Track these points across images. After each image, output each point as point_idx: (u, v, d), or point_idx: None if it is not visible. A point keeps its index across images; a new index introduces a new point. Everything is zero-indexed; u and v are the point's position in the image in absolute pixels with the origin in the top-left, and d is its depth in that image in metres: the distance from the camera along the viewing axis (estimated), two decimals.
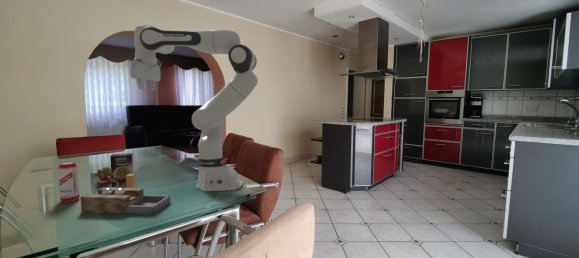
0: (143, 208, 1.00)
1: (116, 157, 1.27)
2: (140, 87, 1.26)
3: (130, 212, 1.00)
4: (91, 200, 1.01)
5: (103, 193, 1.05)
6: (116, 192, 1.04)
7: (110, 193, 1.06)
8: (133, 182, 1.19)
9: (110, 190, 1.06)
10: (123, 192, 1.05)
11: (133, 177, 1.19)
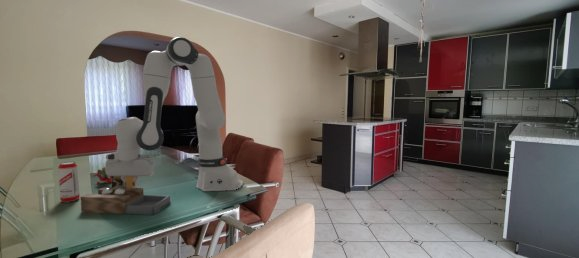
0: (143, 208, 1.00)
1: None
2: (136, 184, 1.19)
3: (130, 212, 1.00)
4: (91, 200, 1.01)
5: (103, 193, 1.05)
6: (116, 192, 1.04)
7: (110, 193, 1.06)
8: None
9: (110, 190, 1.06)
10: (123, 192, 1.05)
11: (133, 177, 1.19)
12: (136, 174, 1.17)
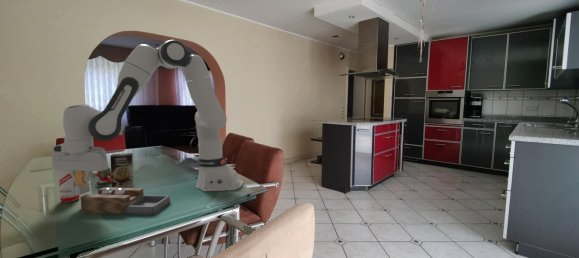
0: (143, 208, 1.00)
1: (116, 157, 1.27)
2: (88, 179, 1.06)
3: (130, 212, 1.00)
4: (91, 200, 1.01)
5: (103, 193, 1.05)
6: (116, 192, 1.04)
7: (110, 193, 1.06)
8: None
9: (110, 190, 1.06)
10: (123, 192, 1.05)
11: (84, 172, 1.06)
12: (86, 168, 1.04)
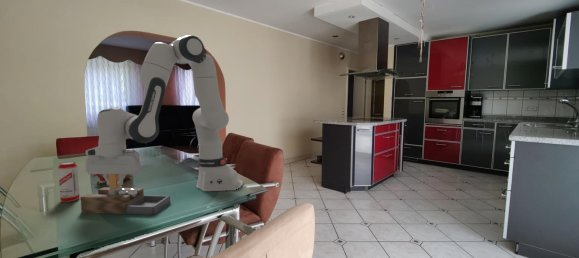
0: (143, 208, 1.00)
1: None
2: (121, 183, 1.06)
3: (130, 212, 1.00)
4: (91, 200, 1.01)
5: None
6: (130, 196, 1.04)
7: None
8: None
9: None
10: None
11: (117, 175, 1.06)
12: (120, 172, 1.03)
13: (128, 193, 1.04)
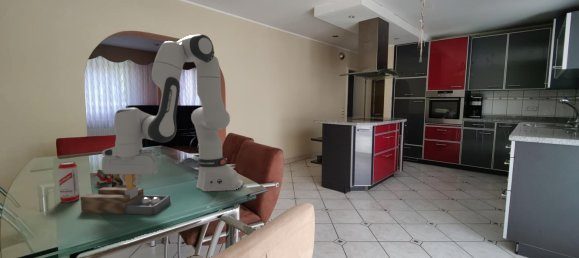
0: (143, 208, 1.00)
1: None
2: (137, 183, 1.05)
3: (130, 212, 1.00)
4: (91, 200, 1.01)
5: (144, 204, 1.04)
6: None
7: None
8: None
9: None
10: None
11: (134, 176, 1.05)
12: (137, 172, 1.03)
13: (151, 203, 1.04)
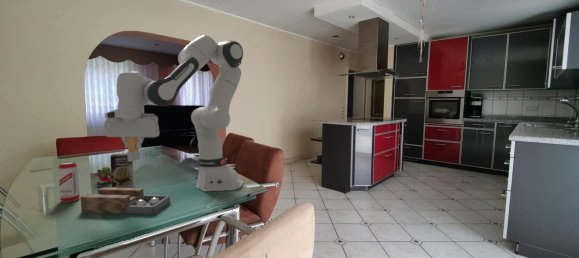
0: (143, 208, 1.00)
1: (116, 157, 1.27)
2: (140, 146, 1.08)
3: (130, 212, 1.00)
4: (91, 200, 1.01)
5: None
6: None
7: None
8: None
9: None
10: None
11: (136, 139, 1.07)
12: (139, 135, 1.05)
13: (150, 204, 1.04)
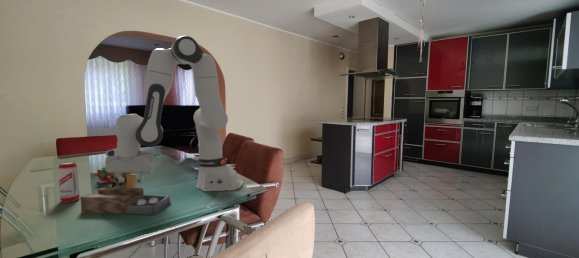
0: (143, 208, 1.00)
1: None
2: (141, 180, 1.19)
3: (130, 212, 1.00)
4: (91, 200, 1.01)
5: None
6: (153, 205, 1.04)
7: None
8: (133, 182, 1.19)
9: None
10: None
11: (134, 177, 1.19)
12: (136, 171, 1.17)
13: (150, 205, 1.03)
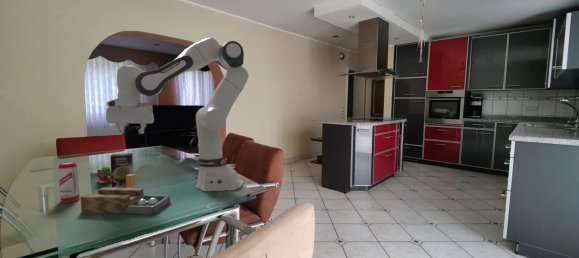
0: (143, 208, 1.00)
1: (116, 157, 1.27)
2: (142, 132, 1.22)
3: (130, 212, 1.00)
4: (91, 200, 1.01)
5: None
6: (153, 205, 1.03)
7: None
8: (133, 182, 1.19)
9: None
10: None
11: (133, 177, 1.19)
12: (136, 121, 1.20)
13: (149, 205, 1.03)
